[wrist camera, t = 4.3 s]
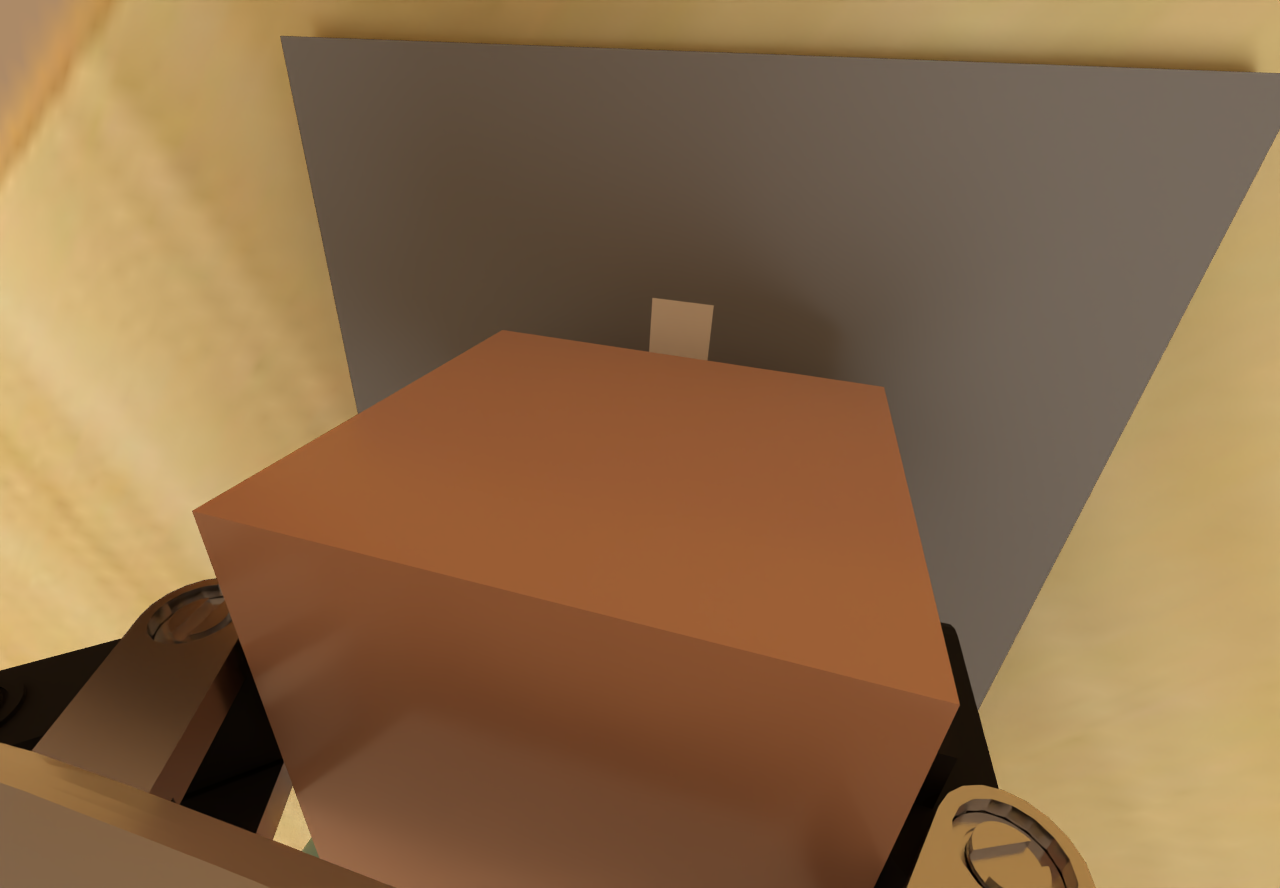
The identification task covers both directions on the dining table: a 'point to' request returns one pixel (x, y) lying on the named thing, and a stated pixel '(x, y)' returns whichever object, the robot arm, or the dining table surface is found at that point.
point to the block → (594, 625)
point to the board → (800, 245)
